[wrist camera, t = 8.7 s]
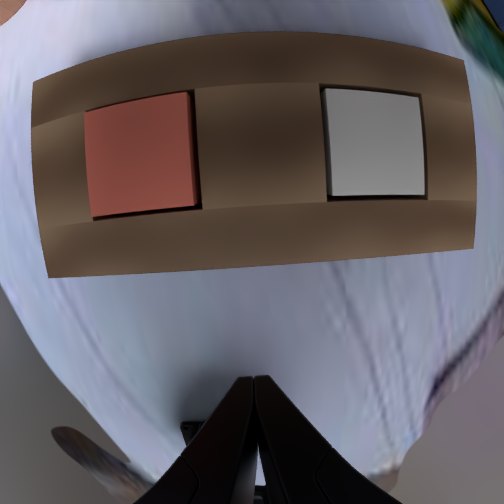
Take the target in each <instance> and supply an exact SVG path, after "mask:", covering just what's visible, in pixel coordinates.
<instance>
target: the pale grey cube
mask: <svg viewBox="0 0 504 504" xmlns="http://www.w3.org/2000/svg"><path fill="white" fill-rule="evenodd" d="M320 101H321V112H322V124H323V137H324V152H325V170H326V193H327V194H328V195H332V196H343V195H424V155H423V138H422V126H421V116H420V107H419V99H418V98H417V97H411V96H404V95H397V94H389V93H380V92H370V91H359V90H345V89H324V90H323V91H322V92H321V93H320Z"/></svg>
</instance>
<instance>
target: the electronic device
mask: <svg viewBox="0 0 504 504" xmlns="http://www.w3.org/2000/svg"><path fill="white" fill-rule="evenodd" d="M483 2H484V3H485V5H486V6H487V8H488V9H489V11H490V13H491V14H492V16H493V18H494V20H495V21H496V23H497V25H498V27H499V28H500V29H501V31H502V32H504V0H483Z"/></svg>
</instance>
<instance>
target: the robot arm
mask: <svg viewBox="0 0 504 504" xmlns="http://www.w3.org/2000/svg"><path fill="white" fill-rule="evenodd" d="M180 429H181V432H182V435H183V438H184V441H185V444H186V446H187V447H186V448H185V449H184V450H183V452H182V453H181V456H179V457H178V458H177V459H176V460H175V462H174V463H173V464H172V465H171V467H170V468H169V469H168V470H167V471H166V472H165V474H164V475H163V476H162V477H161V478H160V479H159V480H158V481H157V482H156V483H155V484H154V485H153V486H152V487H151V488H150V489H149V490H148V491H147V492H146V493H145V494H143V495H142V496H141V497H140V498H139V499H138V500H137V501H135V502H134V503H133V504H402V503H401V502H399V501H398V500H396V499H395V498H394V497H392V496H391V495H389V494H388V493H386V492H385V491H383V490H382V489H381V488H379V487H378V486H376V485H375V484H374V483H372V482H371V481H370V480H368V479H367V478H366V477H365V476H363V475H362V474H361V473H359V472H358V471H357V470H356V469H355V468H354V467H352V466H351V465H350V464H349V463H348V462H347V461H346V460H345V459H344V458H343V457H342V456H341V455H340V454H339V453H338V452H337V451H336V450H335V449H334V448H332V446H331V444H330V443H329V442H328V441H327V440H326V439H325V438H324V437H323V436H322V435H321V434H320V433H319V432H318V430H317V429H316V428H315V427H314V426H313V425H312V424H311V423H310V422H309V421H308V419H307V418H306V417H305V416H304V415H303V414H302V413H301V412H300V410H299V409H298V408H297V407H296V406H295V405H294V404H293V403H292V401H291V400H290V399H289V398H288V397H287V396H286V394H285V393H284V392H283V391H282V390H281V389H280V388H279V386H278V385H277V384H276V383H275V382H274V380H273V379H272V378H271V377H270V376H269V375H260V376H255V377H254V379H253V377H252V376H244V377H238V378H237V379H236V380H235V382H234V383H233V385H232V386H231V388H230V389H229V390H228V392H227V393H226V394H225V396H224V397H223V399H222V400H221V401H220V403H219V404H218V405H217V407H216V408H215V410H214V411H213V412H212V414H211V415H210V416H209V418H208V419H207V420H206V422H182V423H181V426H180ZM258 447H259V454H260V459H261V464H262V468H263V473H264V477H265V482H266V485H265V486H260V485H255V479H256V469H257V458H258Z"/></svg>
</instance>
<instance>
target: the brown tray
mask: <svg viewBox="0 0 504 504" xmlns="http://www.w3.org/2000/svg"><path fill="white" fill-rule="evenodd" d="M324 89H345V90H359V91H370V92H380V93H389V94H397V95H404V96H411V97H417V98H418V99H419V107H420V116H421V126H422V138H423V155H424V195H343V196H332V195H328V194H327V193H326V170H325V152H324V137H323V124H322V112H321V101H320V93H321V92H322V91H323V90H324ZM182 92H187V93H188V95H189V96H190V97H191V99H192V100H193V101H194V103H195V105H196V124H197V140H198V155H199V169H200V182H201V195H202V201H200V202H199V203H197V204H195V205H194V206H183V207H173V208H163V209H153V210H144V211H135V212H127V213H118V214H110V215H103V216H95V217H91V210H90V202H89V193H88V182H87V170H86V155H85V131H84V113H85V112H89V111H93V110H96V109H100V108H104V107H108V106H113V105H117V104H121V103H126V102H130V101H135V100H140V99H146V98H151V97H156V96H162V95H169V94H175V93H182ZM31 152H32V172H33V185H34V195H35V204H36V212H37V219H38V226H39V232H40V238H41V244H42V249H43V255H44V260H45V264H46V269H47V273H48V278H63V277H85V276H105V275H124V274H143V273H160V272H177V271H194V270H210V269H225V268H240V267H255V266H269V265H284V264H297V263H311V262H324V261H337V260H349V259H362V258H374V257H386V256H397V255H409V254H420V253H431V252H442V251H453V250H463V249H473V248H474V237H475V223H476V202H477V167H476V145H475V132H474V122H473V113H472V105H471V98H470V92H469V86H468V80H467V75H466V70H465V65H464V60H461V59H458V58H455V57H451V56H448V55H445V54H441V53H437V52H434V51H430V50H426V49H422V48H418V47H414V46H409V45H405V44H400V43H395V42H389V41H384V40H378V39H372V38H365V37H357V36H349V35H340V34H328V33H314V32H243V33H229V34H217V35H208V36H199V37H192V38H185V39H179V40H173V41H167V42H161V43H156V44H151V45H147V46H142V47H138V48H133V49H129V50H125V51H121V52H117V53H114V54H110V55H107V56H103V57H100V58H97V59H93V60H90V61H87V62H84V63H81V64H78V65H75V66H72V67H70V68H67V69H64V70H61V71H59V72H56V73H54V74H51V75H49V76H46V77H44V78H41V79H39V80H37V81H34V82H33V90H32V109H31Z"/></svg>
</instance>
